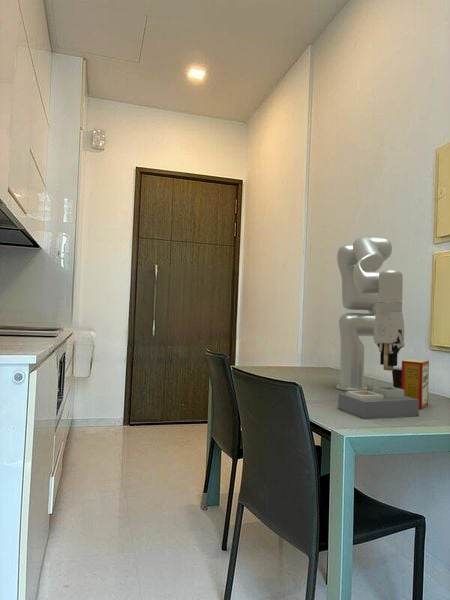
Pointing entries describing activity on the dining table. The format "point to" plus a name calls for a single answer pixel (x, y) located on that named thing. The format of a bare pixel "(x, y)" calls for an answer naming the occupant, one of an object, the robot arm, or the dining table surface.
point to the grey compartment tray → (379, 403)
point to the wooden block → (386, 351)
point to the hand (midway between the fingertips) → (388, 364)
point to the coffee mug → (397, 377)
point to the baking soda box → (416, 380)
